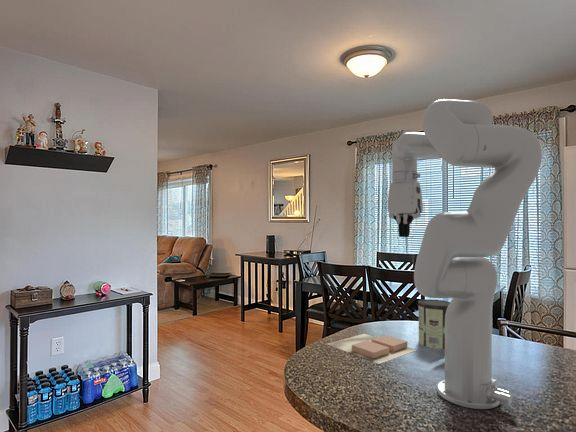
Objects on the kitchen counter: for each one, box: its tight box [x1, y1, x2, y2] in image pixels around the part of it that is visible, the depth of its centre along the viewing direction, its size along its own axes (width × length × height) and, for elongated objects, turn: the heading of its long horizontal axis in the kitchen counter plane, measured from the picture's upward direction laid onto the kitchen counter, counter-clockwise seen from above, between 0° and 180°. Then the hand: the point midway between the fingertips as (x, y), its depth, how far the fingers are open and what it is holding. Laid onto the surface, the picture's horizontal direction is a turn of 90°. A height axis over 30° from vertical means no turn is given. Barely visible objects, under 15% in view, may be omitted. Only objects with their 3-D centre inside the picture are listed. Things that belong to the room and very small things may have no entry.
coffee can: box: [417, 298, 451, 350], centre depth 116 cm, size 10×10×14 cm
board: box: [326, 333, 417, 365], centre depth 111 cm, size 20×18×1 cm
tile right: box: [371, 334, 408, 352], centre depth 112 cm, size 2×7×8 cm
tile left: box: [352, 340, 389, 359], centre depth 107 cm, size 2×7×8 cm
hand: (404, 236), depth 116 cm, fingers closed
